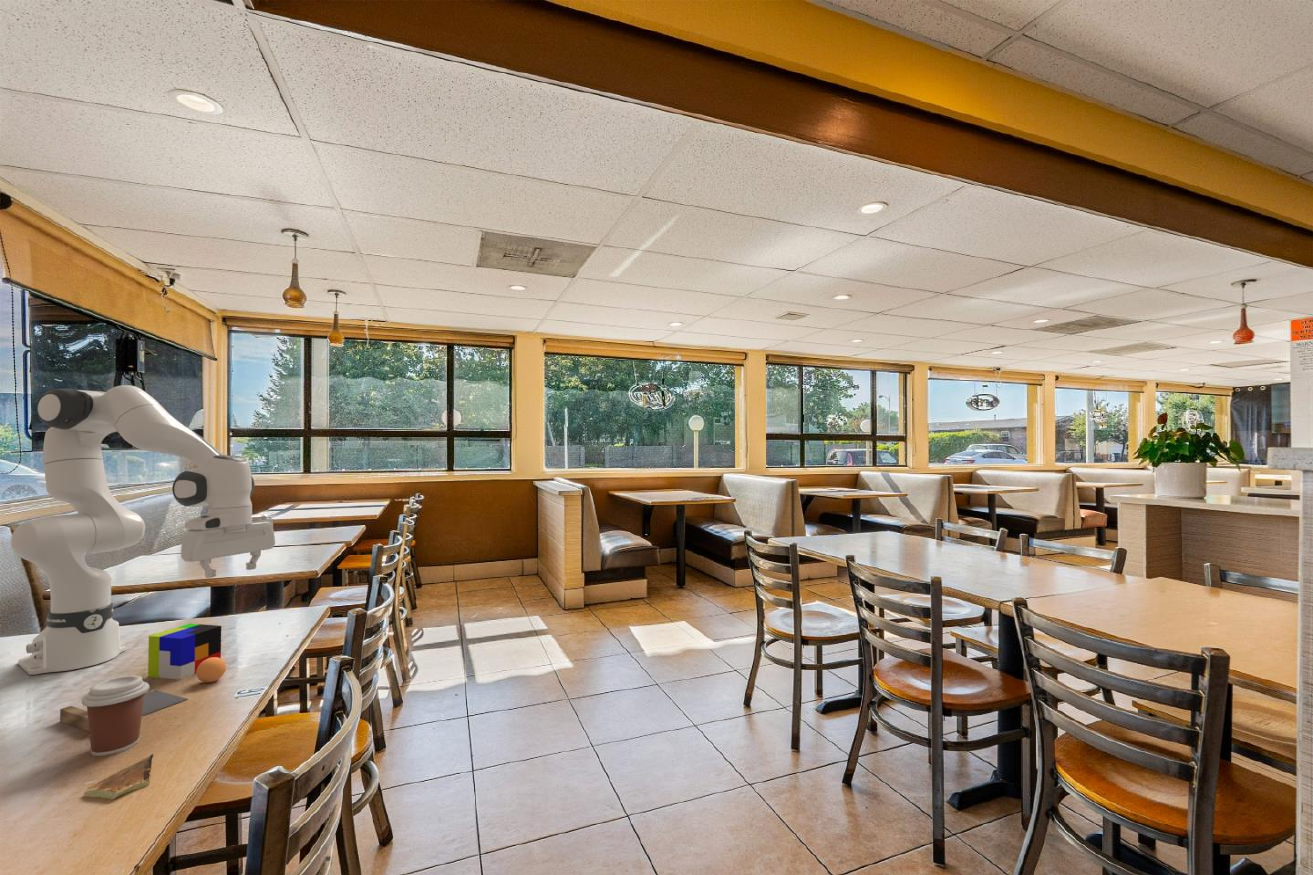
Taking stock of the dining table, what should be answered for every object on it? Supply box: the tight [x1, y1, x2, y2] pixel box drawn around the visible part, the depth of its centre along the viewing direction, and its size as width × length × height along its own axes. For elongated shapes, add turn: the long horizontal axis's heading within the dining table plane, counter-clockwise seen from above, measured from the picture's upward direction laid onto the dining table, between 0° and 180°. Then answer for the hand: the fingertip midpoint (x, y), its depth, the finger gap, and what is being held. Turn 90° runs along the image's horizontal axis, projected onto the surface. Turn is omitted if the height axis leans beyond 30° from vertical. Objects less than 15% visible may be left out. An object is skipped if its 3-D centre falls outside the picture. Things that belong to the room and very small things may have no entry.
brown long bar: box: [59, 705, 89, 732], centre depth 112 cm, size 14×2×2 cm, turn 68°
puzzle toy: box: [147, 623, 222, 680], centre depth 140 cm, size 10×10×10 cm
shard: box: [83, 753, 154, 800], centre depth 94 cm, size 11×8×2 cm
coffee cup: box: [81, 674, 150, 757], centre depth 104 cm, size 9×9×12 cm
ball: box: [195, 657, 227, 683], centre depth 133 cm, size 6×6×6 cm
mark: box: [142, 689, 189, 717], centre depth 120 cm, size 12×12×1 cm
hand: (231, 573), depth 140 cm, fingers open, 8 cm apart
